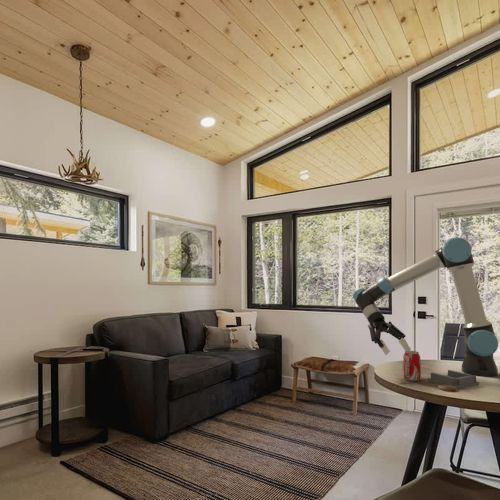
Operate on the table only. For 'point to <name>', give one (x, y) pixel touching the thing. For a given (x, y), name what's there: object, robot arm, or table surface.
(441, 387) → the walnut coaster
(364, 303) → the robot arm
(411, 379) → the soda can
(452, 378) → the dock
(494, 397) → the table surface
